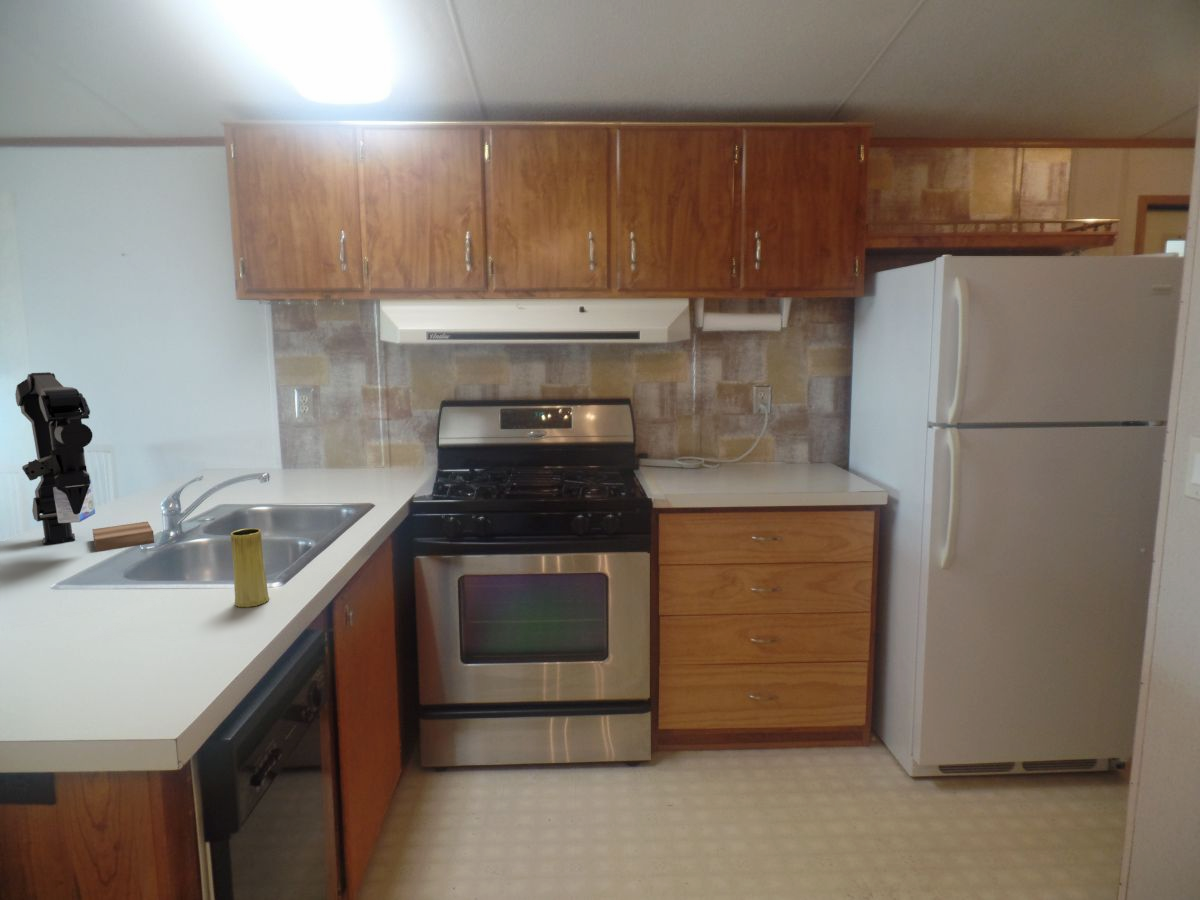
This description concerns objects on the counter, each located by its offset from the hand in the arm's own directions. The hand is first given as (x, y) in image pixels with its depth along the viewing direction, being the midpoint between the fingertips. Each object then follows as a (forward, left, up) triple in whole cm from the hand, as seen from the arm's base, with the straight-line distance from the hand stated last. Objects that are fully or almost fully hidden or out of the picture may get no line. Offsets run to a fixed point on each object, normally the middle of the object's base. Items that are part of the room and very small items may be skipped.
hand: (76, 510), depth 164 cm
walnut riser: (-11, +9, -12) cm, 18 cm away
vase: (+55, +25, -12) cm, 62 cm away
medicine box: (0, 0, -2) cm, 2 cm away
